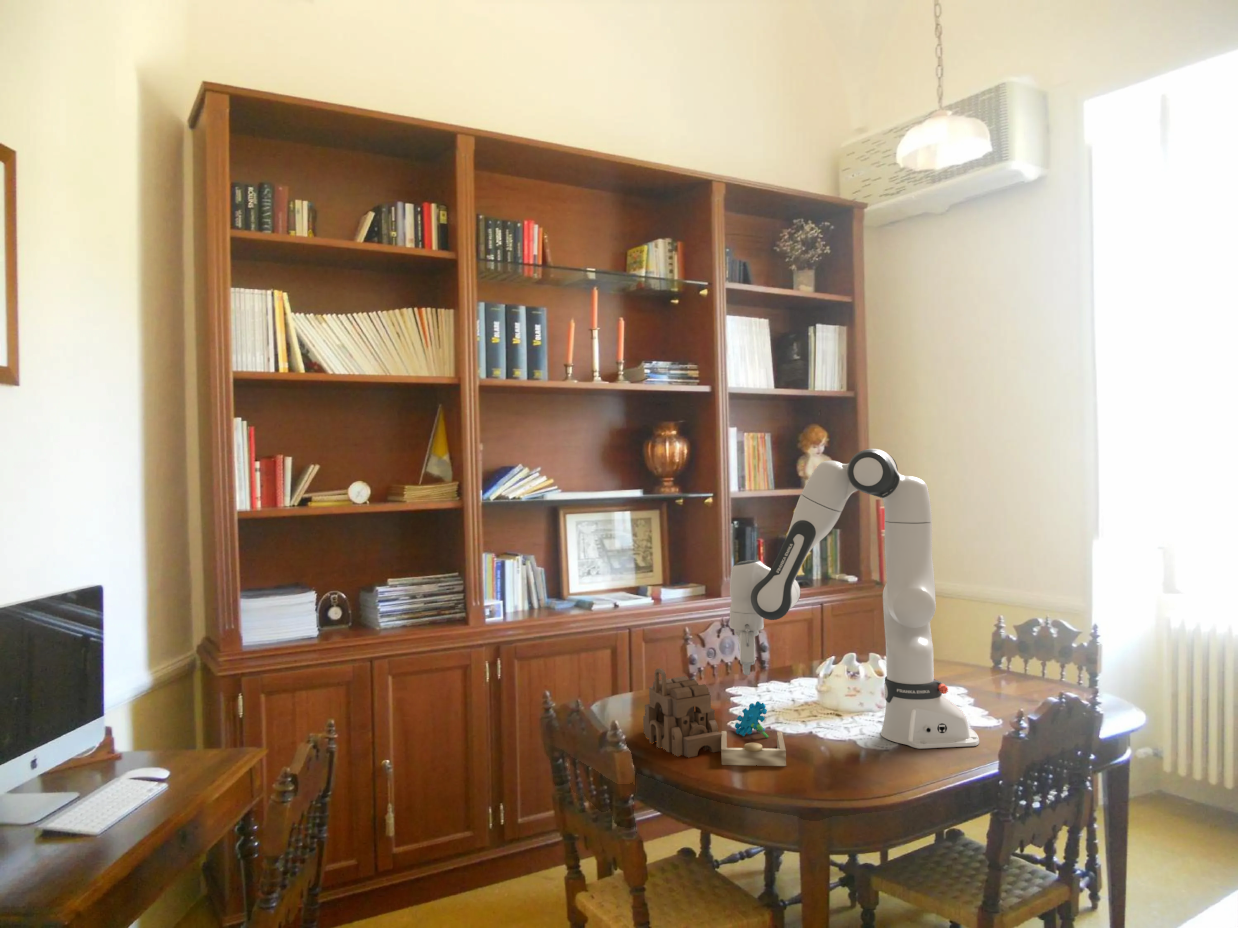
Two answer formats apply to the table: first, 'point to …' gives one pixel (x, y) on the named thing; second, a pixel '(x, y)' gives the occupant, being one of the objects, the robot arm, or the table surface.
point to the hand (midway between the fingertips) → (746, 673)
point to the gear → (751, 720)
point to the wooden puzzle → (681, 716)
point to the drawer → (753, 753)
